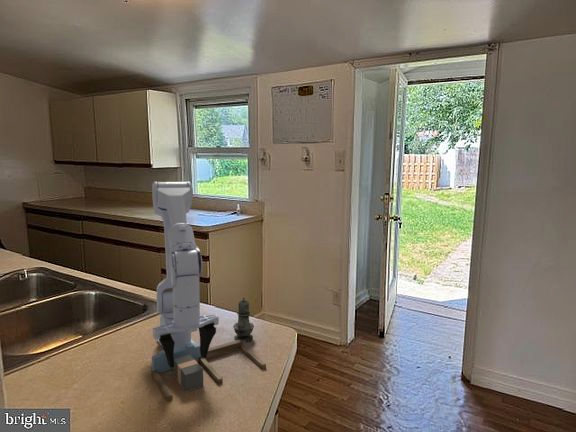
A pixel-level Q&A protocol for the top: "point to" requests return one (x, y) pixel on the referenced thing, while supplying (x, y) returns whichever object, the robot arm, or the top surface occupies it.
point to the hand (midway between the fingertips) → (187, 360)
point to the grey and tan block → (188, 373)
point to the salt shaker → (243, 323)
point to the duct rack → (194, 350)
